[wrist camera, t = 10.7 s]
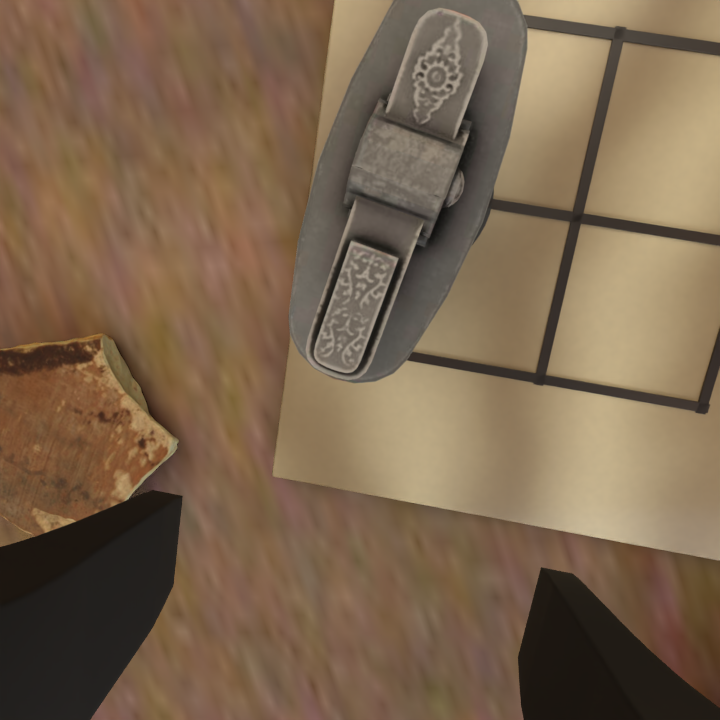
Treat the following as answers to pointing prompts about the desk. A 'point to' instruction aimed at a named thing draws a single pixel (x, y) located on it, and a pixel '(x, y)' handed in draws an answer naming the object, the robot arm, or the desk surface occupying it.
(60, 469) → the shard
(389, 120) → the lighter
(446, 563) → the desk surface
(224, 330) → the desk surface
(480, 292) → the grid board
